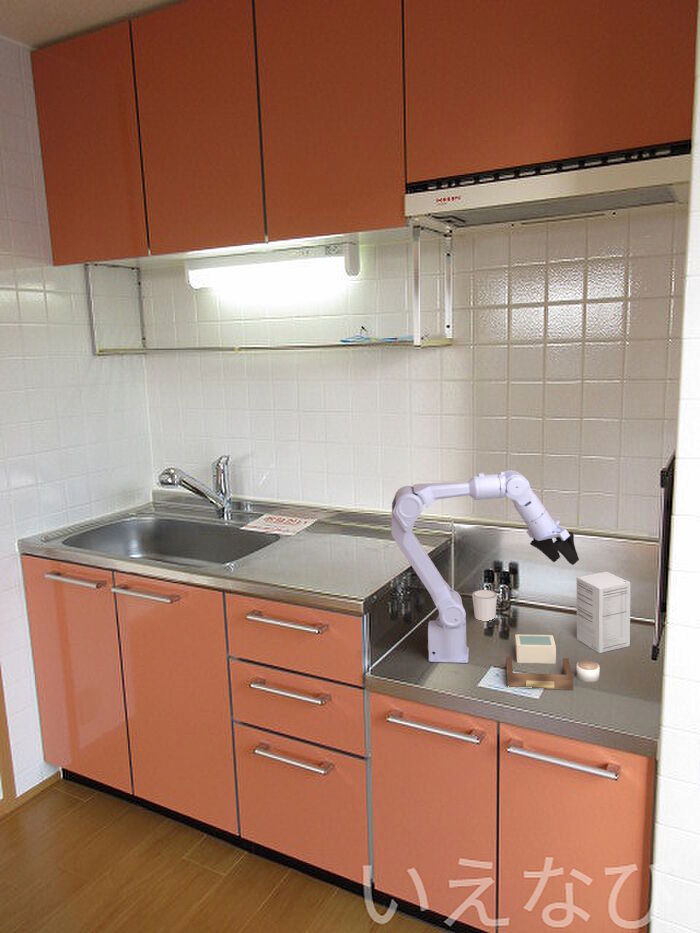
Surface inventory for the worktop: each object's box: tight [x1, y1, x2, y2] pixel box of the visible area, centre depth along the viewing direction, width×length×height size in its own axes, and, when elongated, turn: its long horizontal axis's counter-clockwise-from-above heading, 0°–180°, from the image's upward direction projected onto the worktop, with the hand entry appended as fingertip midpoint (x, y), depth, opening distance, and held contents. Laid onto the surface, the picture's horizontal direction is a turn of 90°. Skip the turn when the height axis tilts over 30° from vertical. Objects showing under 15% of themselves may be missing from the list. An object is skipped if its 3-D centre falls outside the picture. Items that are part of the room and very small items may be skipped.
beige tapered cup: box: [471, 589, 498, 622], centre depth 192 cm, size 7×7×7 cm
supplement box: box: [576, 571, 631, 654], centre depth 172 cm, size 10×9×17 cm
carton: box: [514, 633, 557, 665], centre depth 168 cm, size 9×6×4 cm
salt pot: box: [575, 659, 601, 683], centre depth 157 cm, size 5×5×3 cm
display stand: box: [505, 655, 574, 691], centre depth 157 cm, size 14×9×3 cm
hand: (565, 560), depth 165 cm, fingers open, 7 cm apart
